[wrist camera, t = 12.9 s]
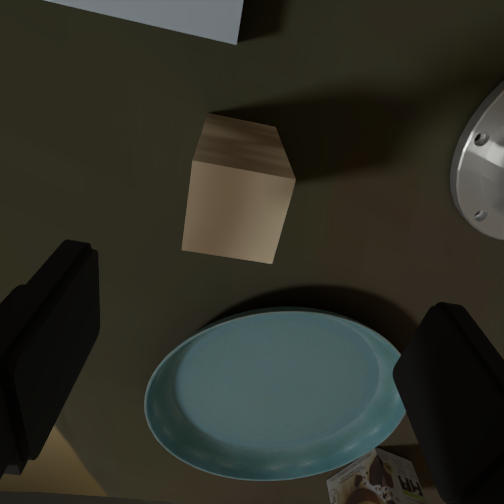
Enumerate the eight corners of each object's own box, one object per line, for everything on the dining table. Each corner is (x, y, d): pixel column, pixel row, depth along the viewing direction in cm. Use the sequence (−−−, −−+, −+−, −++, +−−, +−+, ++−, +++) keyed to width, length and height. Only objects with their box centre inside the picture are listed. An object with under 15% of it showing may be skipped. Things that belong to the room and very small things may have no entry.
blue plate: (398, 432, 41) (410, 462, 38) (193, 464, 43) (190, 494, 40) (400, 261, 28) (418, 287, 26) (109, 316, 30) (96, 346, 27)
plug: (275, 126, 22) (295, 179, 15) (260, 189, 24) (272, 263, 17) (207, 112, 22) (192, 160, 14) (198, 178, 24) (181, 250, 16)
